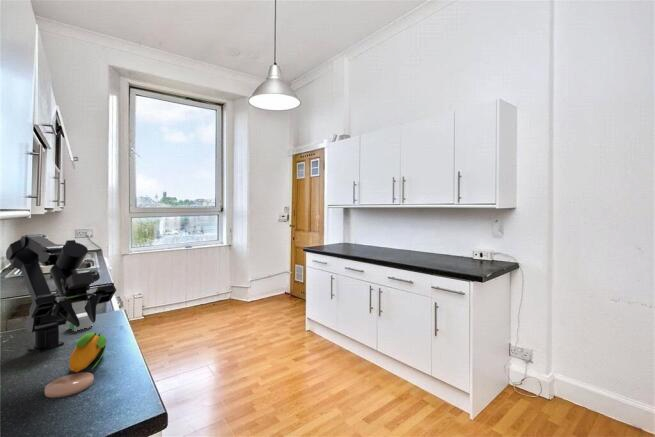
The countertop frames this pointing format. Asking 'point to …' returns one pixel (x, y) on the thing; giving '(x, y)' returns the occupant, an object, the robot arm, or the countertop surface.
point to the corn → (87, 351)
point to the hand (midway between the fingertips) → (86, 323)
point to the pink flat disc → (68, 385)
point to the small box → (82, 322)
